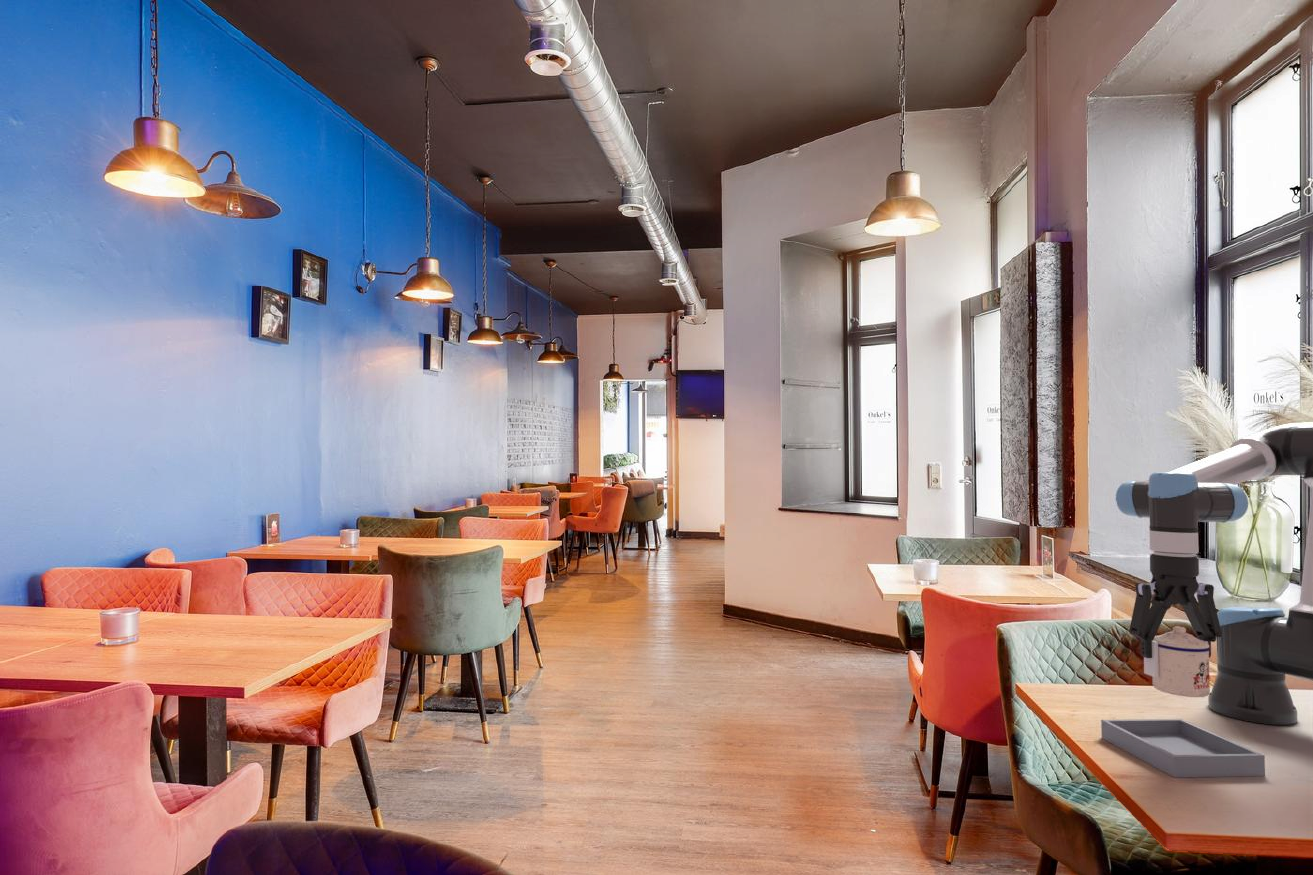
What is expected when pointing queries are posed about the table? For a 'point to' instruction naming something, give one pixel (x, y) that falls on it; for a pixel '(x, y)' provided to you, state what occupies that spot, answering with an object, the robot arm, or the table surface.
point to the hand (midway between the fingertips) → (1176, 675)
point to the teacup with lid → (1182, 664)
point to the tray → (1183, 748)
